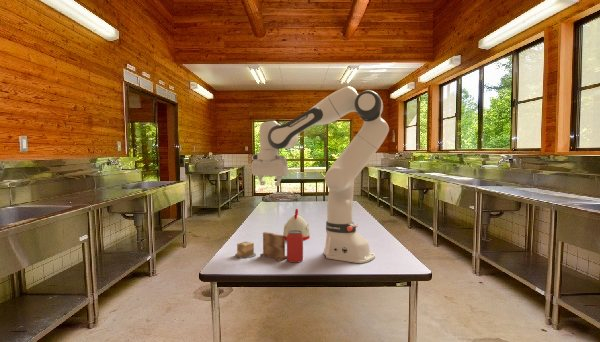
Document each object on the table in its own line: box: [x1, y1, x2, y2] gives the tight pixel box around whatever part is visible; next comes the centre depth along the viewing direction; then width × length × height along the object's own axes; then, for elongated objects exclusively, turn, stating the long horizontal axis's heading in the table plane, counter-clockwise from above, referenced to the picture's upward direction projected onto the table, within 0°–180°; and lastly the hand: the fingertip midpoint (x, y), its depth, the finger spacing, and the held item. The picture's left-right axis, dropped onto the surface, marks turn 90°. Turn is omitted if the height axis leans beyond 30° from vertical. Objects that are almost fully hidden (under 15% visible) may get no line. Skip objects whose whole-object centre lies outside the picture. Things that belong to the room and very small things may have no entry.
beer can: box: [286, 230, 304, 264], centre depth 139 cm, size 7×7×12 cm
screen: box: [259, 231, 287, 262], centre depth 143 cm, size 11×5×10 cm, turn 52°
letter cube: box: [236, 241, 255, 257], centre depth 146 cm, size 5×5×5 cm
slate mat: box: [234, 252, 257, 259], centre depth 147 cm, size 9×9×1 cm
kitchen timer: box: [282, 208, 311, 241], centre depth 177 cm, size 14×14×15 cm
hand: (269, 185), depth 159 cm, fingers open, 8 cm apart
